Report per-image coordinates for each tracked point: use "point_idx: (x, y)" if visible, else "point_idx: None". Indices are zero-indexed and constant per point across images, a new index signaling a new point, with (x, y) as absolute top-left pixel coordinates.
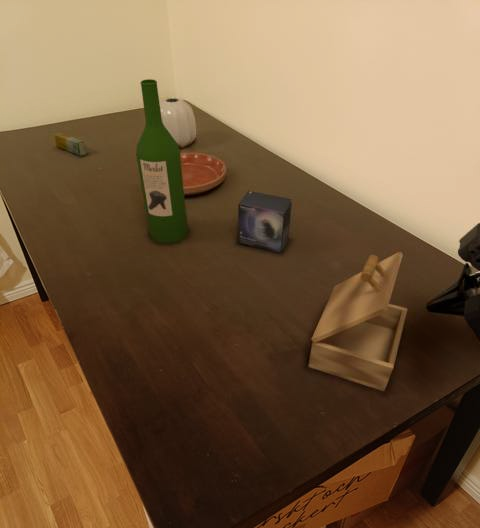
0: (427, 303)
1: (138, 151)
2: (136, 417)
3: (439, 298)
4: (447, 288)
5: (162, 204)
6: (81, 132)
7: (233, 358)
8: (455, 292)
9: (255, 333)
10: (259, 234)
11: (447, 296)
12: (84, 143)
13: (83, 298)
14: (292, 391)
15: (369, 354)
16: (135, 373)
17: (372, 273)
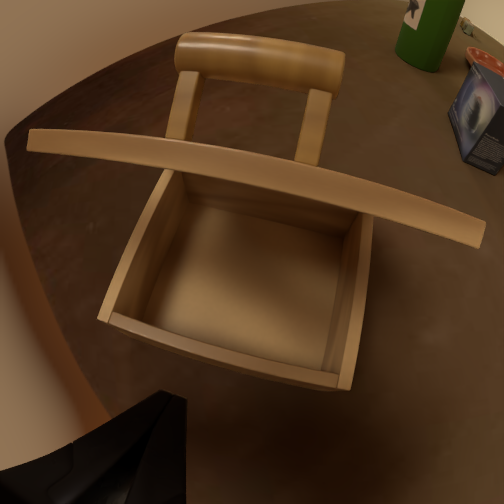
0: (180, 399)
1: None
2: (119, 69)
3: (148, 446)
4: (182, 501)
5: (412, 12)
6: (488, 40)
7: (199, 109)
8: (49, 501)
9: (257, 125)
10: (464, 114)
11: (84, 467)
12: (472, 28)
13: (276, 18)
14: (133, 181)
15: (222, 311)
16: (174, 54)
17: (198, 54)
